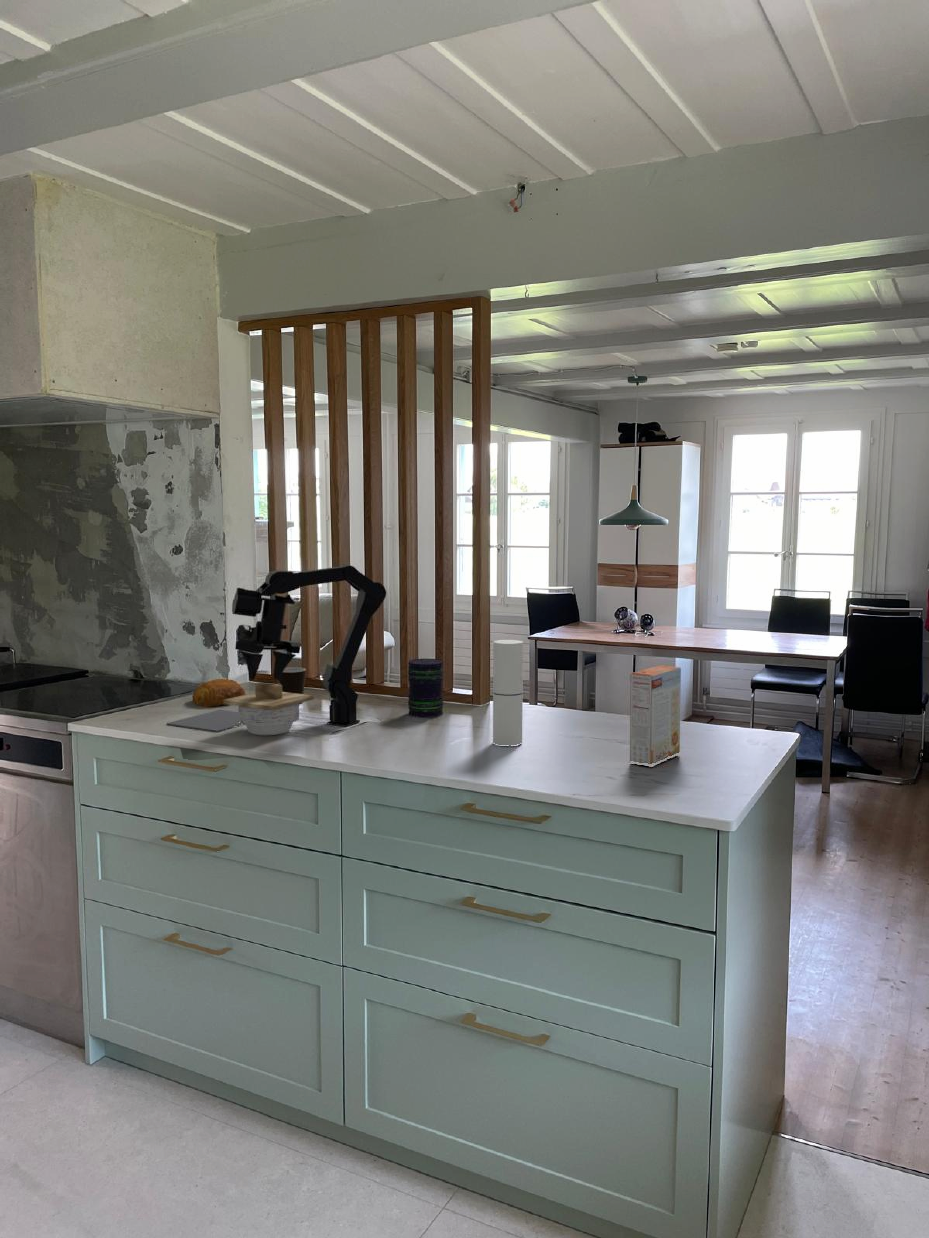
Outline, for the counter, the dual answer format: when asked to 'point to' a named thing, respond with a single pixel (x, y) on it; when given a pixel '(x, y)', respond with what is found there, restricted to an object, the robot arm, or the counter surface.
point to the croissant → (216, 692)
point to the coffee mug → (292, 680)
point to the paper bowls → (268, 719)
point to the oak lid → (268, 698)
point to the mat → (210, 721)
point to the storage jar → (425, 688)
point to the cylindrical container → (507, 692)
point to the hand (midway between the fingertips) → (263, 679)
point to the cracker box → (655, 713)
